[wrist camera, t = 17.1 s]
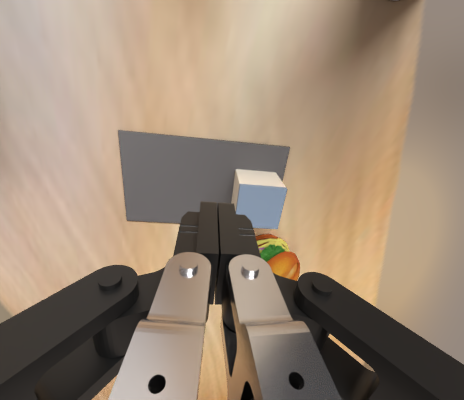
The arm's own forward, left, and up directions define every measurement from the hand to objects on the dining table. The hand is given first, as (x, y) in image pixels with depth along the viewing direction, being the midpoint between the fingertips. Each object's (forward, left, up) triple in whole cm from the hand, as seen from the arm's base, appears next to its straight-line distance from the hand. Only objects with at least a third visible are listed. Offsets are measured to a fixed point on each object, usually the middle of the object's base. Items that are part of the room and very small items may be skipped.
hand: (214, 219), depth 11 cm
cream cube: (-8, +11, -22) cm, 26 cm away
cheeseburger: (-13, +25, -29) cm, 40 cm away
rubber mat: (0, +11, -29) cm, 31 cm away
